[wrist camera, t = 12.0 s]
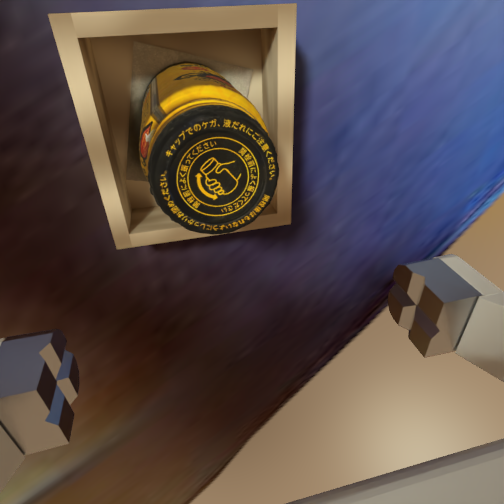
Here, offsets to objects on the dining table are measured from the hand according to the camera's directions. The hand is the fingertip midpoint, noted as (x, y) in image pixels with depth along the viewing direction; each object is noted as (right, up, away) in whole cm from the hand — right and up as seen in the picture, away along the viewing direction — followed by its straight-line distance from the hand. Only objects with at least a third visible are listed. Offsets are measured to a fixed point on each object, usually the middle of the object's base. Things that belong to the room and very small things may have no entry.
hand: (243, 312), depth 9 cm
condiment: (-4, +10, +15) cm, 19 cm away
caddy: (-4, +10, +16) cm, 20 cm away
